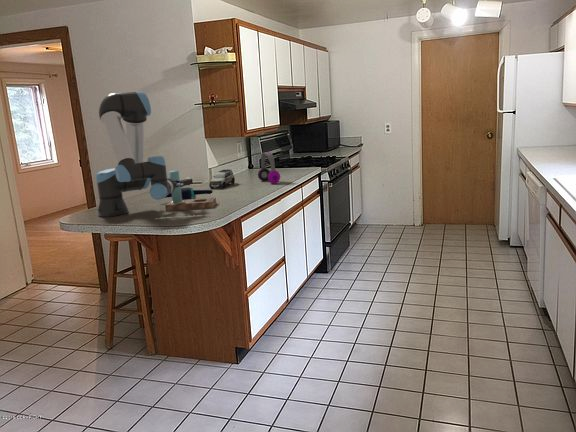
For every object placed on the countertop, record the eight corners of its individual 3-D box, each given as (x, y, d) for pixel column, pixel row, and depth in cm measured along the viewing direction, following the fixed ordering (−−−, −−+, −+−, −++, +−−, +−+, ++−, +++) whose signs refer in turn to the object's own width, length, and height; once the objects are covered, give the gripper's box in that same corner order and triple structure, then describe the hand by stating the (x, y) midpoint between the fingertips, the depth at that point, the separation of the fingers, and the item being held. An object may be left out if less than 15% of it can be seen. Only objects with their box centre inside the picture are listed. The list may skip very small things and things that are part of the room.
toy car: (207, 190, 321) (206, 174, 318) (218, 183, 344) (216, 169, 342) (227, 189, 319) (225, 173, 316) (236, 182, 342) (235, 168, 340)
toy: (162, 199, 303) (156, 207, 274) (160, 186, 302) (154, 192, 273) (213, 194, 307) (213, 201, 278) (212, 181, 306) (211, 186, 276)
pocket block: (166, 212, 256) (165, 204, 255) (172, 208, 268) (171, 200, 267) (212, 209, 255) (211, 201, 254) (216, 205, 267) (215, 197, 266)
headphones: (257, 181, 341) (254, 152, 336) (269, 179, 344) (266, 150, 340) (269, 184, 322) (266, 153, 318) (281, 183, 326) (279, 152, 321)
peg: (171, 203, 258) (167, 172, 255) (173, 201, 263) (170, 170, 259) (181, 202, 258) (177, 171, 254) (183, 200, 263) (179, 170, 259)
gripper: (141, 196, 242) (154, 189, 263) (192, 192, 241) (201, 185, 262) (139, 181, 241) (152, 174, 261) (190, 177, 240) (199, 171, 260)
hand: (176, 180), depth 262 cm, fingers open, 13 cm apart
